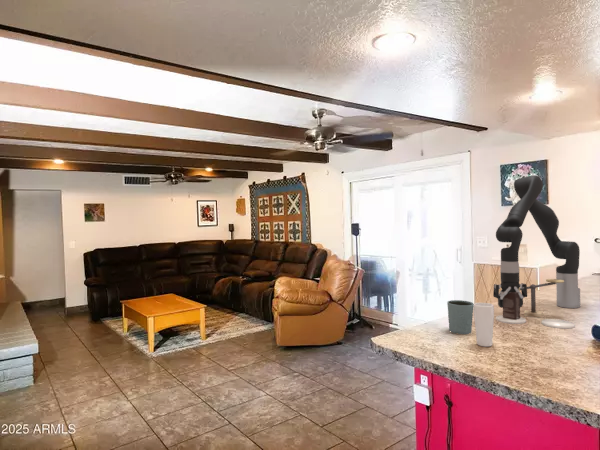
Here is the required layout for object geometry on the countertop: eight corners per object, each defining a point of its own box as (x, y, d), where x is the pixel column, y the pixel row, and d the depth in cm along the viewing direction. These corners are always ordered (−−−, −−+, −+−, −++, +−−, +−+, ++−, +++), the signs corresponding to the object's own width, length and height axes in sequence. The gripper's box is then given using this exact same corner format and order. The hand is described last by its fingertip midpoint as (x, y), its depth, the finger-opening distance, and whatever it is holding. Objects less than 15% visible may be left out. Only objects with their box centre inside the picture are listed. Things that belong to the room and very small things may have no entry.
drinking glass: (493, 342, 149) (492, 302, 148) (495, 348, 142) (495, 306, 142) (473, 341, 151) (472, 302, 151) (475, 347, 144) (474, 305, 144)
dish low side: (516, 316, 185) (516, 314, 185) (531, 323, 173) (531, 321, 173) (490, 317, 185) (490, 315, 185) (504, 324, 173) (504, 322, 173)
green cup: (447, 327, 171) (446, 299, 171) (472, 328, 168) (472, 300, 168) (448, 334, 161) (447, 304, 161) (475, 335, 158) (475, 305, 158)
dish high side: (562, 320, 176) (562, 318, 176) (581, 328, 164) (581, 325, 164) (535, 321, 176) (535, 319, 176) (553, 329, 164) (553, 326, 164)
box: (520, 318, 178) (520, 291, 178) (516, 320, 176) (515, 293, 175) (506, 316, 183) (506, 290, 183) (502, 317, 180) (501, 291, 180)
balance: (564, 316, 184) (563, 279, 183) (565, 319, 178) (564, 281, 177) (504, 311, 196) (504, 276, 196) (504, 314, 190) (503, 278, 190)
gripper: (520, 269, 183) (521, 304, 183) (489, 270, 183) (490, 305, 183) (530, 271, 175) (531, 308, 176) (498, 272, 175) (499, 309, 175)
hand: (510, 306), depth 179 cm, fingers open, 8 cm apart
